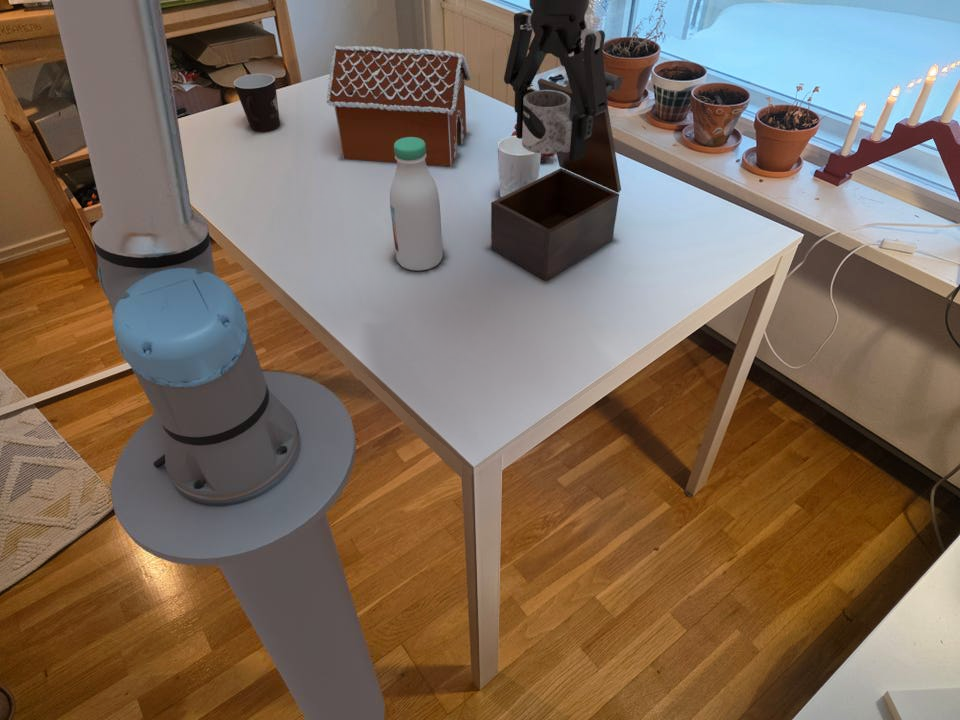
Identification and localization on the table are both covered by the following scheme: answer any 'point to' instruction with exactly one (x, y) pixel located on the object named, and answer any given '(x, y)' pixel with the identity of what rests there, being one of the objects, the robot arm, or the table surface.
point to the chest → (553, 222)
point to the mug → (546, 122)
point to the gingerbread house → (398, 101)
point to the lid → (593, 141)
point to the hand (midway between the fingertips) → (550, 146)
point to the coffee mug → (259, 101)
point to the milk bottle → (415, 208)
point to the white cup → (516, 165)
